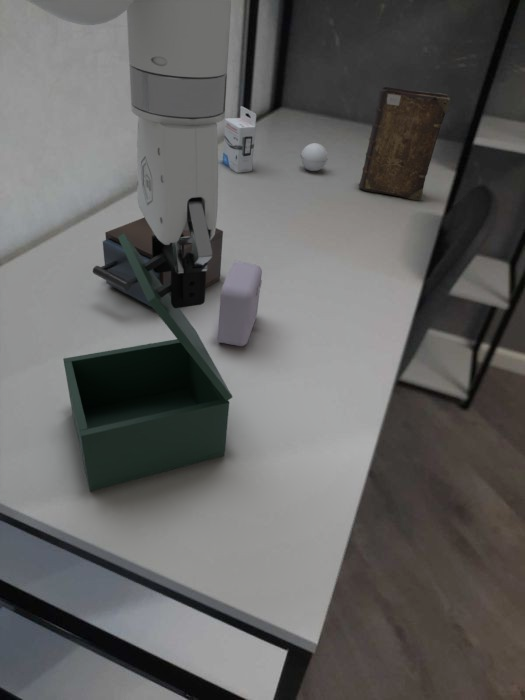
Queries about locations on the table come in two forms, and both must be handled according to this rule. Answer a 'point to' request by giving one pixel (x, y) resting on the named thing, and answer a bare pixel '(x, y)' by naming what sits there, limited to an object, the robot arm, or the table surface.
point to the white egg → (314, 157)
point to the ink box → (239, 141)
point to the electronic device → (239, 303)
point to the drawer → (121, 271)
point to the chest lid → (171, 309)
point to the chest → (143, 412)
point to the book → (402, 141)
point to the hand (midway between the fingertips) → (177, 285)
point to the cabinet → (142, 242)
